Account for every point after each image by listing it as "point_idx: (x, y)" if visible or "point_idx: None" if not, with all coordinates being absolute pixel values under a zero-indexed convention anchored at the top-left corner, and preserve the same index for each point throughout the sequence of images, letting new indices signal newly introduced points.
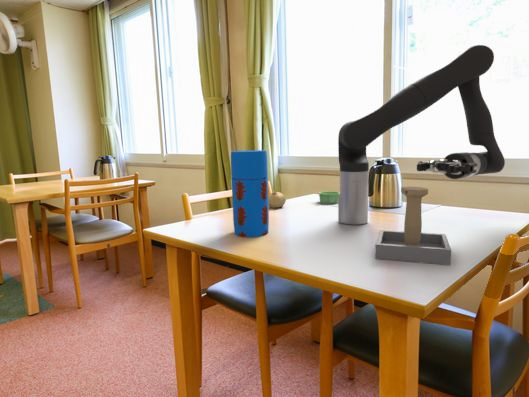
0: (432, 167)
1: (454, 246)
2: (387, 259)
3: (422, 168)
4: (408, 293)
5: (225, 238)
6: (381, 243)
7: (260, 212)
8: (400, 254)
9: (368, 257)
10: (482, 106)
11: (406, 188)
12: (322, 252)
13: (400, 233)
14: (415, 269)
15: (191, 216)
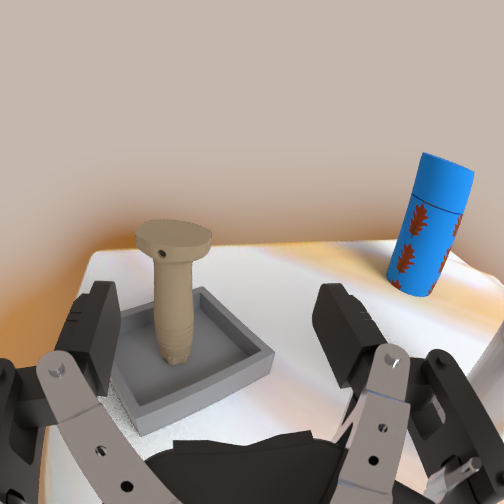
0: (345, 423)
1: None
2: None
3: (327, 334)
4: (111, 259)
5: (387, 258)
6: (217, 316)
7: (400, 248)
8: None
9: None
10: None
11: (187, 224)
12: (276, 286)
13: (228, 368)
14: (130, 305)
15: (492, 275)
